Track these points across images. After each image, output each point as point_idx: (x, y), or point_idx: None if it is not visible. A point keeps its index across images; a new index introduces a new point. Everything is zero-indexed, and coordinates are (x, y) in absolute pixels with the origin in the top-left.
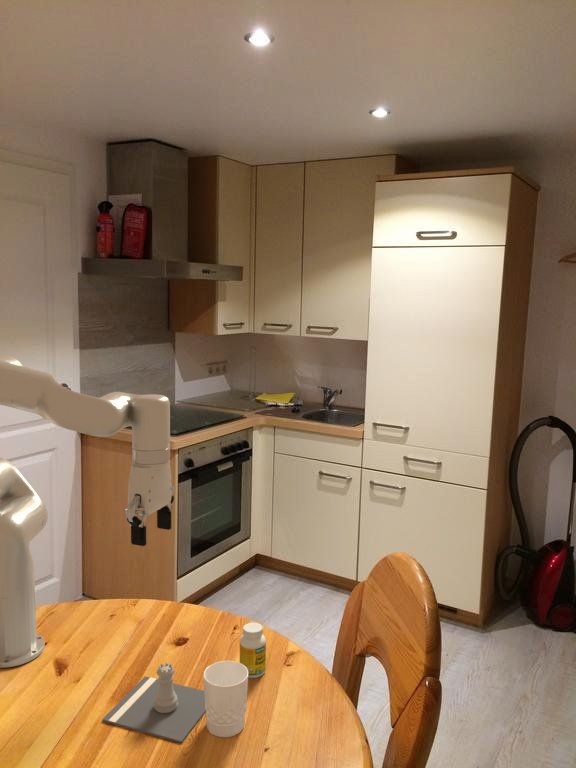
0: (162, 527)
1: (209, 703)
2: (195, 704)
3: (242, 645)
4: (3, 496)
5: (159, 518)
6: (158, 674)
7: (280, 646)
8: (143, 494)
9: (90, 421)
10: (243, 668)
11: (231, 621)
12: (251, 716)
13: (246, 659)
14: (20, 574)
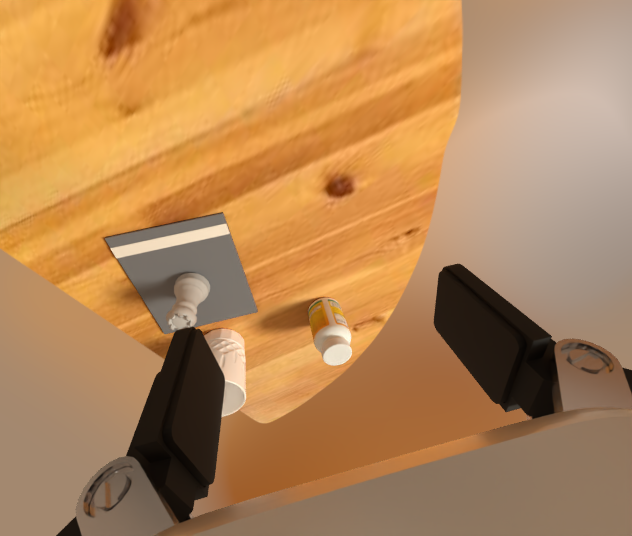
0: (439, 300)
1: None
2: (224, 306)
3: (315, 337)
4: None
5: (475, 318)
6: (166, 317)
7: (387, 303)
8: None
9: None
10: (242, 399)
11: (425, 216)
12: (252, 351)
13: (311, 329)
14: None
